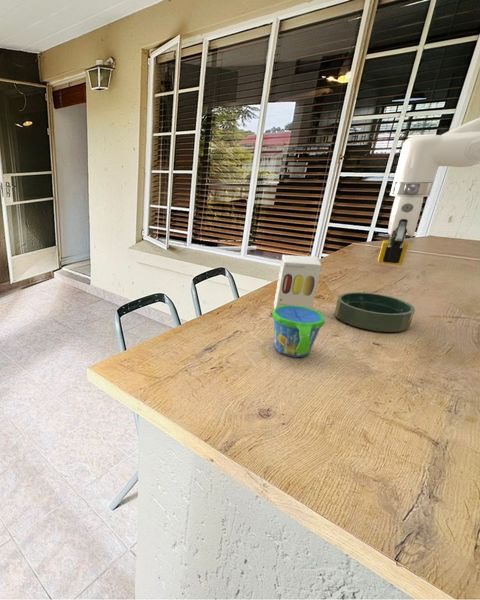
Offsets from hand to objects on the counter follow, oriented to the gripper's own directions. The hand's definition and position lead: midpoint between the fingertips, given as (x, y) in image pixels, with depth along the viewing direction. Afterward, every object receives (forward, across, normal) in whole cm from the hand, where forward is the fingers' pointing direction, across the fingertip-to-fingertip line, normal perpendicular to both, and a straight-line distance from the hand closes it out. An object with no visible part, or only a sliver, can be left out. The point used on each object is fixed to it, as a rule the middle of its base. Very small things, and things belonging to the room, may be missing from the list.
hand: (390, 259), depth 94 cm
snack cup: (+18, -32, +16) cm, 40 cm away
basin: (+17, -2, +1) cm, 18 cm away
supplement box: (+18, -6, +20) cm, 27 cm away
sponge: (+1, 0, 0) cm, 1 cm away
